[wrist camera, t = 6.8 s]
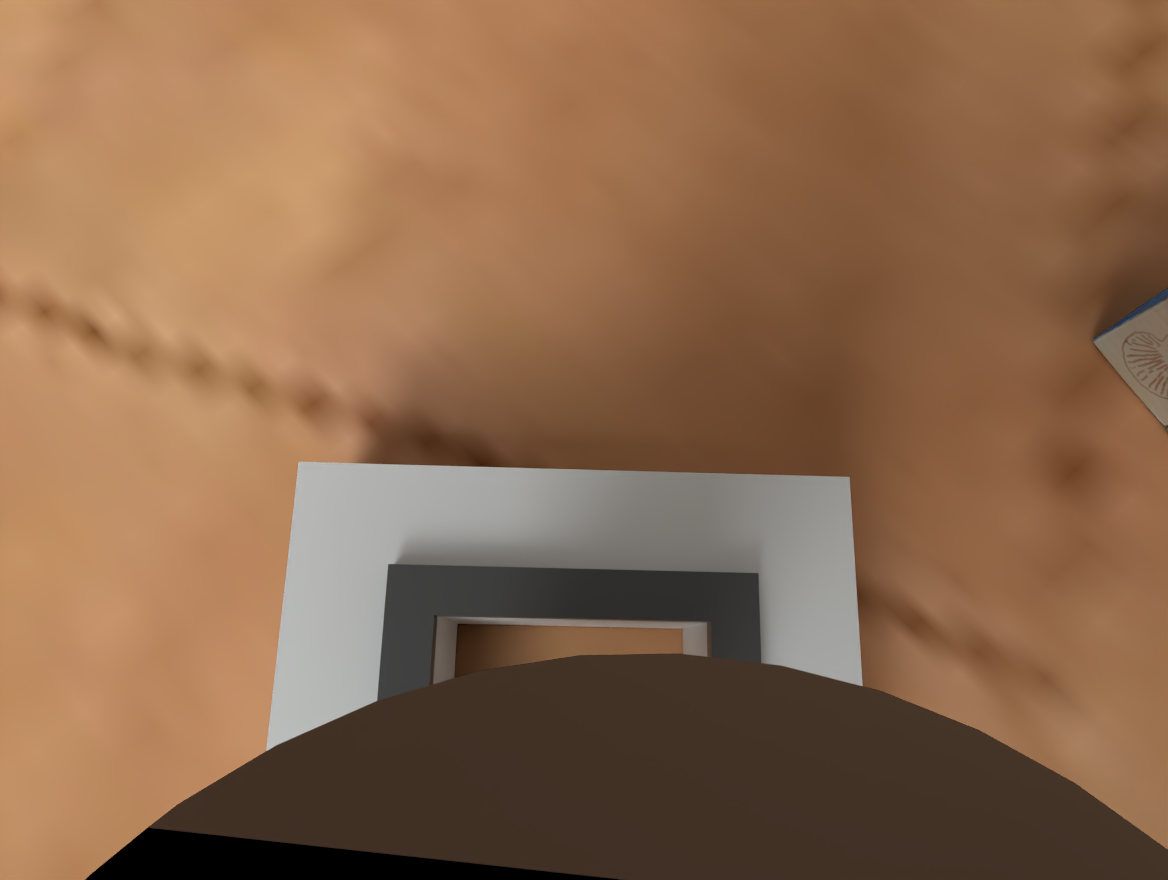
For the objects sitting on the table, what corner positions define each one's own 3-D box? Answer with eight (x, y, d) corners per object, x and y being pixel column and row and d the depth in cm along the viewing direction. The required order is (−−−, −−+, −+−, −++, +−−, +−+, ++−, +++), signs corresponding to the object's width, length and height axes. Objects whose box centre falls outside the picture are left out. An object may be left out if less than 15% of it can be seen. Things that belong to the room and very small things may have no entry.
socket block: (829, 1036, 19) (900, 1135, 15) (287, 1029, 18) (214, 1129, 14) (804, 505, 22) (857, 471, 18) (340, 493, 21) (291, 456, 17)
